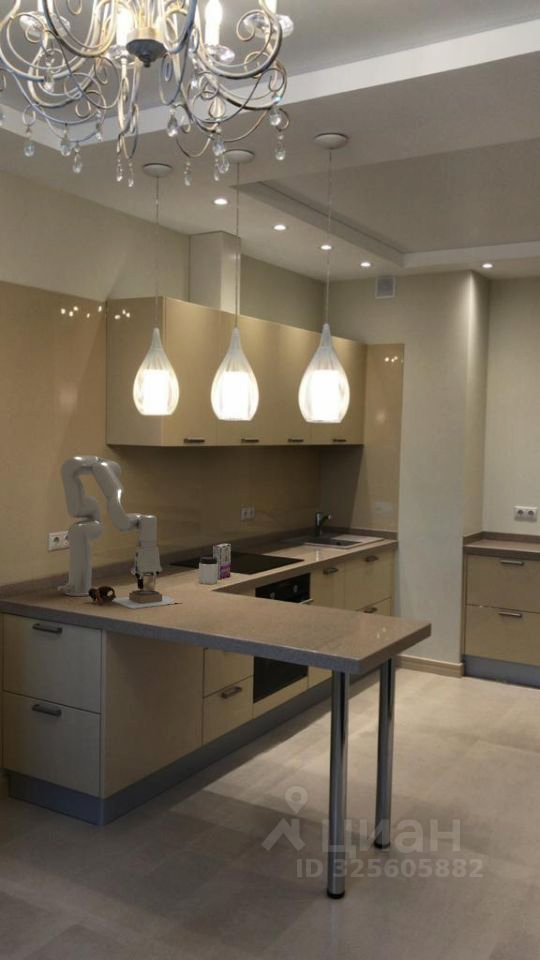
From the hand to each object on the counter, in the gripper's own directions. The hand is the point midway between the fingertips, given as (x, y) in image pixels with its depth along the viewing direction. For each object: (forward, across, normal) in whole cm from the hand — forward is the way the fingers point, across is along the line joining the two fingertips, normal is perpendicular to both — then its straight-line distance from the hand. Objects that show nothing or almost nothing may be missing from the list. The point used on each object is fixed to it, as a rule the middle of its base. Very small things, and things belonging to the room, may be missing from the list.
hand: (146, 587), depth 352 cm
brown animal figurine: (+7, -17, +6) cm, 19 cm away
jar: (+7, +49, +26) cm, 56 cm away
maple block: (+1, 0, 0) cm, 1 cm away
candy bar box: (+7, +63, +35) cm, 72 cm away
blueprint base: (+6, 0, 0) cm, 6 cm away
